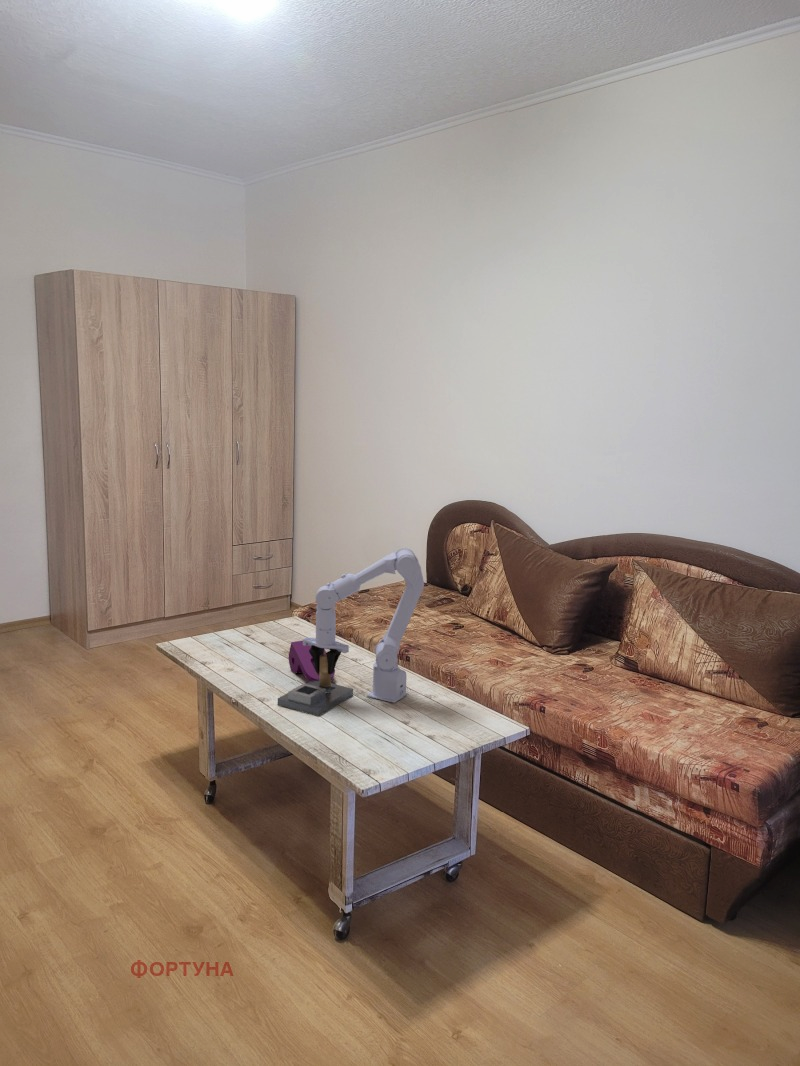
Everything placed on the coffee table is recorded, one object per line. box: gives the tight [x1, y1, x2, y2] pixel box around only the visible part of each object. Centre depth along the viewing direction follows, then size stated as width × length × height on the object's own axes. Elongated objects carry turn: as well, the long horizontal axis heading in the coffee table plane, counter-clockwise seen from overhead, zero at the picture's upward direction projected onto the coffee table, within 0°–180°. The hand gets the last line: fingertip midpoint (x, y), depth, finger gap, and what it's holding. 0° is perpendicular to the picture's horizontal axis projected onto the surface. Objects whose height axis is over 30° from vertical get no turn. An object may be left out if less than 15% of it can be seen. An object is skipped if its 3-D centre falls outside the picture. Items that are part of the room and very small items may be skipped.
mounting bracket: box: [288, 640, 336, 682], centre depth 252 cm, size 9×8×18 cm
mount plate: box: [277, 680, 354, 716], centre depth 232 cm, size 14×18×4 cm
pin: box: [318, 654, 332, 687], centre depth 235 cm, size 3×3×9 cm
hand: (325, 672), depth 235 cm, fingers closed on pin, 3 cm apart
